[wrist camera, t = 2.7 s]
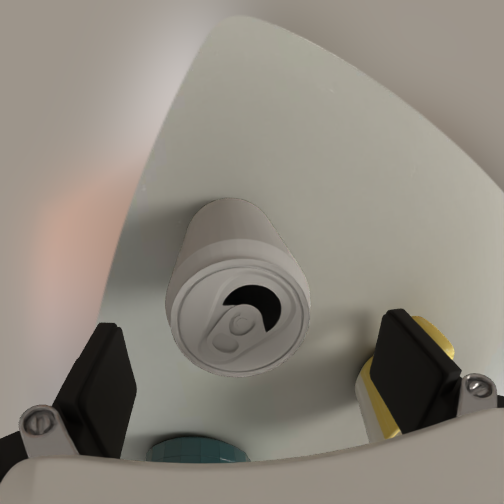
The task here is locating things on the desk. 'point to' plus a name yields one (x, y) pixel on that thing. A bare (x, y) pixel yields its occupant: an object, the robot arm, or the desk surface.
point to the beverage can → (236, 292)
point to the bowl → (195, 451)
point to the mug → (370, 400)
